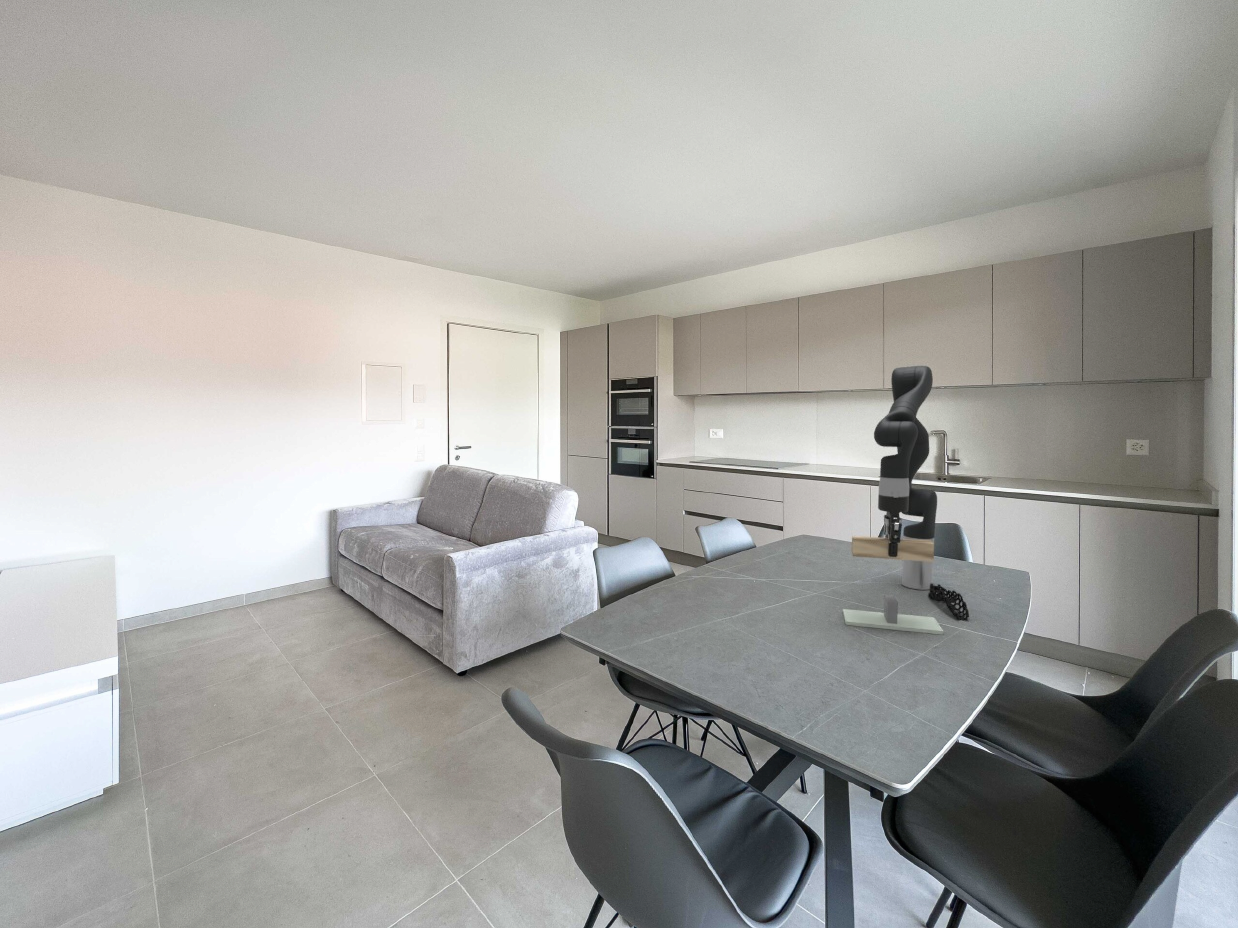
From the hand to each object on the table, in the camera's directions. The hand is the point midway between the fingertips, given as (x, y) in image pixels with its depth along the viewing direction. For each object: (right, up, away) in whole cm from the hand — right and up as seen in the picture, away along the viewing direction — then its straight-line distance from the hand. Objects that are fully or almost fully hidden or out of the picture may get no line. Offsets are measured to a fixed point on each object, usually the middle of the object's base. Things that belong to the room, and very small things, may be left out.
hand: (891, 554), depth 149 cm
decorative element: (+23, -19, +13) cm, 33 cm away
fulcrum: (0, -20, +2) cm, 20 cm away
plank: (0, -1, 0) cm, 1 cm away
